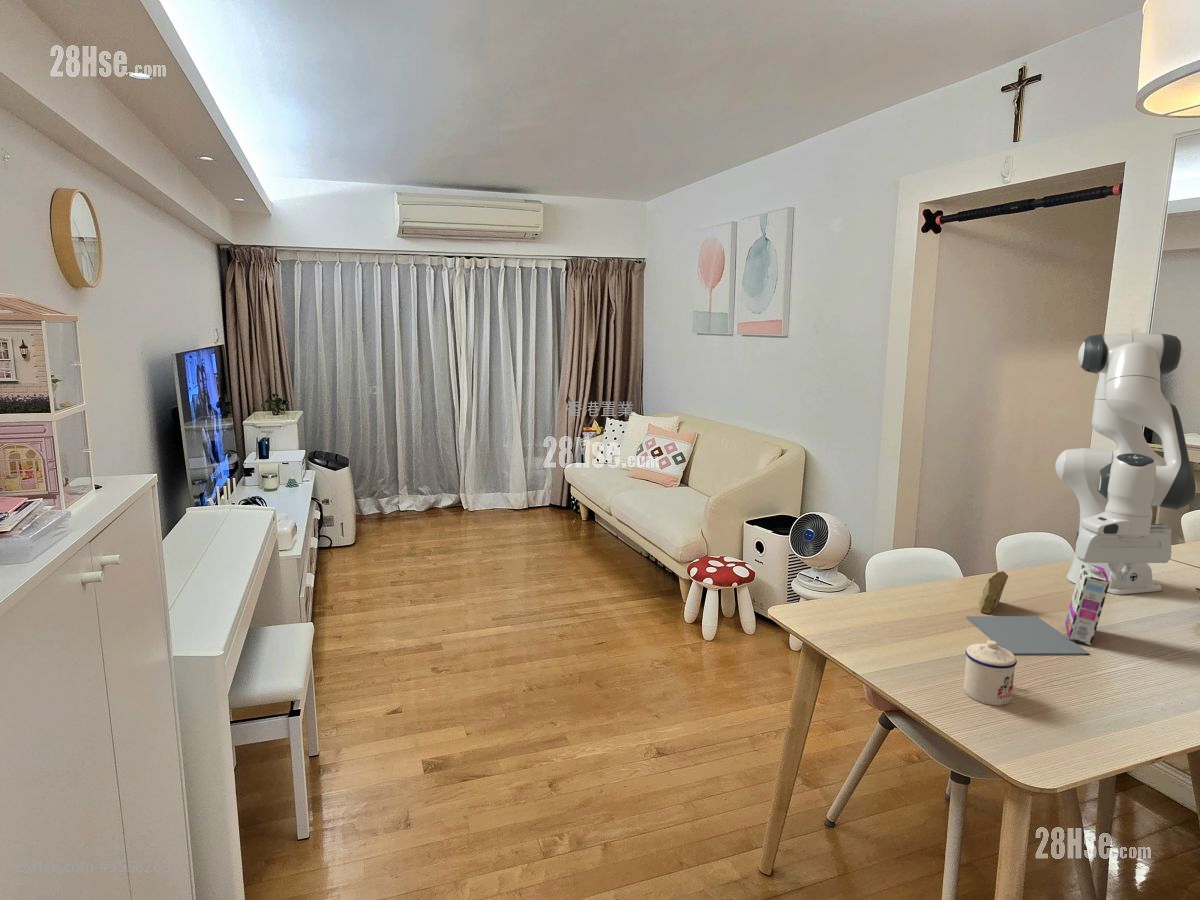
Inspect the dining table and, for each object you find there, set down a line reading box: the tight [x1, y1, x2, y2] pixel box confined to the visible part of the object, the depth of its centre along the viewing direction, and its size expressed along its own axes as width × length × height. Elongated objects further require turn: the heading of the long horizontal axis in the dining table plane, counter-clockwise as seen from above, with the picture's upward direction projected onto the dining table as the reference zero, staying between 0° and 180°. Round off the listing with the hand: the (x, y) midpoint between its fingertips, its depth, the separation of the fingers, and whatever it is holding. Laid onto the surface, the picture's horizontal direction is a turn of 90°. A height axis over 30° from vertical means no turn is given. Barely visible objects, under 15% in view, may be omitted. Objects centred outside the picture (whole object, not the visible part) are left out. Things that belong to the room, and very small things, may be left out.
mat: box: [965, 615, 1090, 656], centre depth 167 cm, size 18×20×1 cm
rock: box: [978, 571, 1009, 615], centre depth 184 cm, size 11×9×10 cm
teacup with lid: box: [963, 639, 1018, 706], centre depth 141 cm, size 12×9×12 cm
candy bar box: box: [1064, 563, 1110, 646], centre depth 165 cm, size 11×5×16 cm, turn 150°
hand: (1119, 579), depth 164 cm, fingers closed
